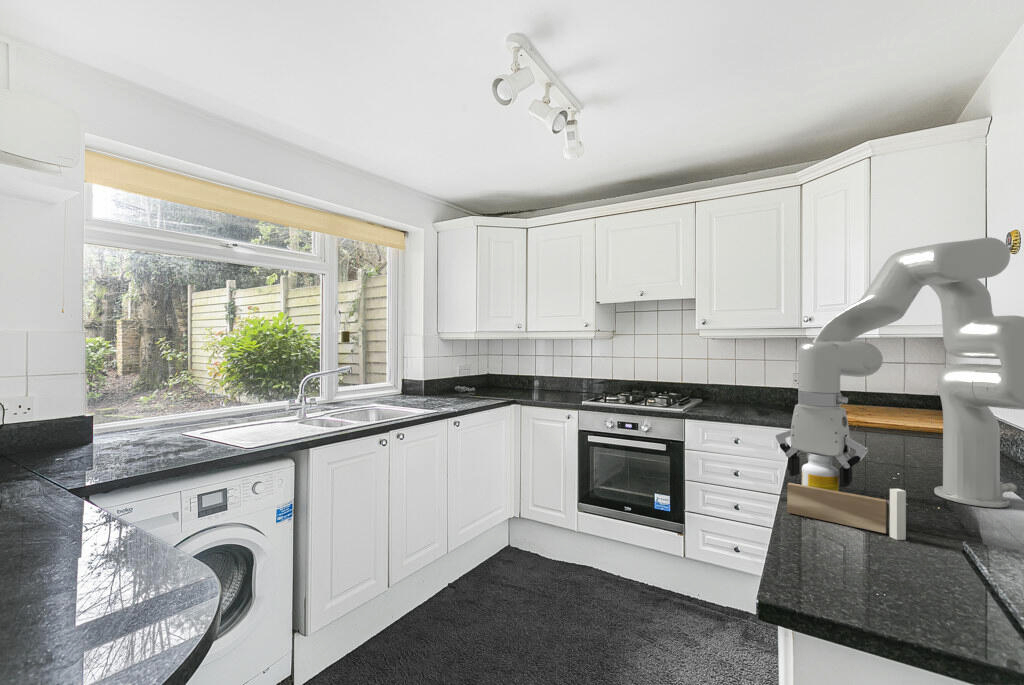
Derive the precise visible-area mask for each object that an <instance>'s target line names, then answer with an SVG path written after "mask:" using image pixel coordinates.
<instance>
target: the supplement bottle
mask: <svg viewBox="0 0 1024 685" xmlns="http://www.w3.org/2000/svg"><path fill="white" fill-rule="evenodd" d="M806 458H807V461H808V462H805V463H804V464H803V465H802V466H801V485H805V486H811V487H816V488H822V489H828V490H833V491H839V490H840V488H839V487H840V471H839V470H838V468H836V467H835V466H833V461H834V457H832V456H825V455H820V454H814V453H808V452H806ZM839 492H840V491H839Z"/></svg>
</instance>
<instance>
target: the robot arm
mask: <svg viewBox="0 0 1024 685" xmlns="http://www.w3.org/2000/svg"><path fill="white" fill-rule="evenodd" d="M1010 261H1011V251H1010V249H1009V246H1008V245H1007V244H1006V243H1005V242H1004V241H1002V240H1001V239H999V238H996V237H989V236H988V237H981V238H975V239H974V238H973V239H968V240H959V241H949V242H941V243H935V244H929V245H924V246H919V247H911V248H906V249H902V250H900V251H897V252H895V253H893V254H891V255H890V256H889V257H888V258H887V260H886V261H885V262H884V263H883V265H882V267H881V268H880V269H879V271H878V273H877V274H876V276H875V277H874V279H873V280H872V282H871V284H870V285H869V286H868V287H867V289H866V291H865V293H864V294H863V295H862V296H861V298H860V299H859V300H857V301H856V302H855V303H853V304H851V305H849V306H848V307H847V308H846V309H844V310H842V311H841V312H840V313H838V314H837V315H835V316H834V317H832V318H831V319H830V320H829V321H827V322H826V323H825V324H824V325H823V326H822V327H821V329H820V330H819V332H818V333H817V334H816V336H815V338H814V339H813V341H812V342H811V341H810V342H804V343H801V344H800V345H799V347H798V352H797V353H798V355H797V356H798V361H797V363H798V367H797V368H798V371H797V372H798V378H797V379H798V385H797V386H798V388H797V390H798V392H797V398H798V399H797V401H798V402H797V404H795V405H794V409H793V414H792V419H791V425H790V426H791V427H790V429H789V430H787V431H784V432H782V433H781V432H780V433H778V434H776V435H775V438H776V441H777V443H778V444H779V448H780V449H781V450H782V452H784V454H785V456H786V457H787V470H788V472H789V476H790V477H795V476H798V475H800V473H801V472H800V470H801V469H800V468H801V467H800V460H801V459H800V456H799V455H798V454H799V453H800V452H805V453H807V452H808V453H814V454H820V455H825V456H832V457H833V458H834V457H835V459H836V460H838V462H839V463H840V465H841V467H839V487H840V488H847V487H849V486H850V484H852V482H853V467H854V466H856V465H857V464H858V463H860V462H862V461H863V458H865V457H866V455H867V453H868V452H869V449H868V448H867V447H866V446H864V445H863V444H861V443H859V442H858V441H856V440H854V439H853V438H851V437H850V434H851V433H850V427H849V426H850V425H849V420H848V415H847V410H846V408H844V407H841V406H842V405H843V404H848V402H849V398H848V397H847V396H843V395H842V392H841V376H844V377H853V378H854V377H855V378H862V377H863V378H864V377H869V376H872V375H874V374H875V373H877V372H878V371H879V370H880V368H881V367H882V365H883V361H884V358H883V355H882V352H881V350H880V349H879V348H878V347H877V346H875V345H874V344H871V343H868V342H865V341H853V340H854V339H856V338H858V337H859V336H862V335H863V334H866V333H868V332H871V331H873V330H877V329H880V328H883V327H885V326H888V325H891V324H893V323H894V322H897V321H899V320H900V319H903V317H904V316H905V314H906V313H907V311H908V309H909V308H910V306H911V305H912V303H913V302H914V300H915V298H916V297H917V296H918V294H919V293H920V292H921V289H922V288H924V287H925V286H929V287H930V288H931V290H933V291H934V292H935V294H936V295H937V296H938V299H939V302H940V308H941V323H942V325H941V326H942V337H943V344H944V348H945V351H946V352H947V354H949V355H951V356H953V357H957V358H964V359H966V358H967V359H987V360H988V359H990V360H991V359H992V360H995V359H996V360H999V362H1000V364H990V363H989V364H988V363H956V364H951V365H948V366H947V367H944V368H943V369H942V370H941V371H940V373H939V374H938V376H937V382H936V383H937V388H938V394H939V397H940V401H941V407H942V408H941V409H942V419H943V420H942V422H943V423H942V428H943V430H942V457H943V458H942V485H939V486H936V487H934V490H933V491H934V494H935V495H936V496H938V497H941V499H945V500H949V501H951V502H952V501H953V502H955V503H960V504H964V505H970V506H976V507H984V508H994V509H995V508H998V509H999V508H1000V509H1001V508H1007V507H1009V506H1010V499H1009V498H1007V497H1005V496H1004V493H1005V492H1006V493H1014V492H1016V491H1017V489H1018V488H1017V487H1018V486H1016V485H1015V483H1013V482H1007V483H1005V482H1002V481H1001V480H1000V478H1001V476H1000V474H1001V472H1000V470H1001V468H1000V467H1001V465H1000V464H1001V462H1000V461H1001V457H1000V456H1001V455H1000V454H1001V453H1000V451H1001V445H1000V443H1001V429H1000V428H1001V426H1000V424H999V421H998V419H997V417H996V416H995V414H994V413H993V412H992V410H991V409H990V408H999V409H1007V410H1008V409H1009V410H1018V411H1019V410H1020V411H1021V410H1022V411H1024V316H1021V315H994V313H993V306H992V297H991V294H990V291H989V289H988V288H987V287H986V286H985V284H984V283H983V282H981V281H980V280H979V279H987V278H992V277H995V276H998V275H999V274H1001V273H1002V272H1003V271H1005V270H1006V268H1007V267H1008V265H1009V263H1010ZM787 438H790V445H789V444H788V443H787V440H786V439H787ZM851 449H854V450H855V454H854V456H852V457H851V456H850V455H849V453H850V452H851Z"/></svg>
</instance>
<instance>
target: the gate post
mask: <svg viewBox="0 0 1024 685" xmlns="http://www.w3.org/2000/svg"><path fill="white" fill-rule="evenodd" d="M889 500H890V534H889V538H892V539H893V540H895V541H903V540H904V541H905V540H906V541H907V534H906V533H907V531H906V530H907V506H906V505H907V491H906V490H905V489H900V488H889Z"/></svg>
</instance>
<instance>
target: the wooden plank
mask: <svg viewBox="0 0 1024 685" xmlns="http://www.w3.org/2000/svg"><path fill="white" fill-rule="evenodd" d="M786 490H787V493H786V494H787V495H786V496H787V497H786V499H787V500H786V502H787V503H786V508H787V510H786V512H787V513H789V514H793V515H797V516H802V517H807V518H810V519H811V518H812V519H817V520H821V521H826V522H830V523H836V524H840V525H845V526H850V527H854V528H859V529H863V530H868V531H873V532H877V533H882V534H887V535H890V499H889V500H888V499H883V498H879V497H873V496H872V497H871V496H868V495H867V496H866V495H861V494H856V493H849V492H844V491H833V490H828V489H822V488H816V487H811V486H805V485H802V484H799V483H798V484H797V483H793V482H788V483H787V488H786Z"/></svg>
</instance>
